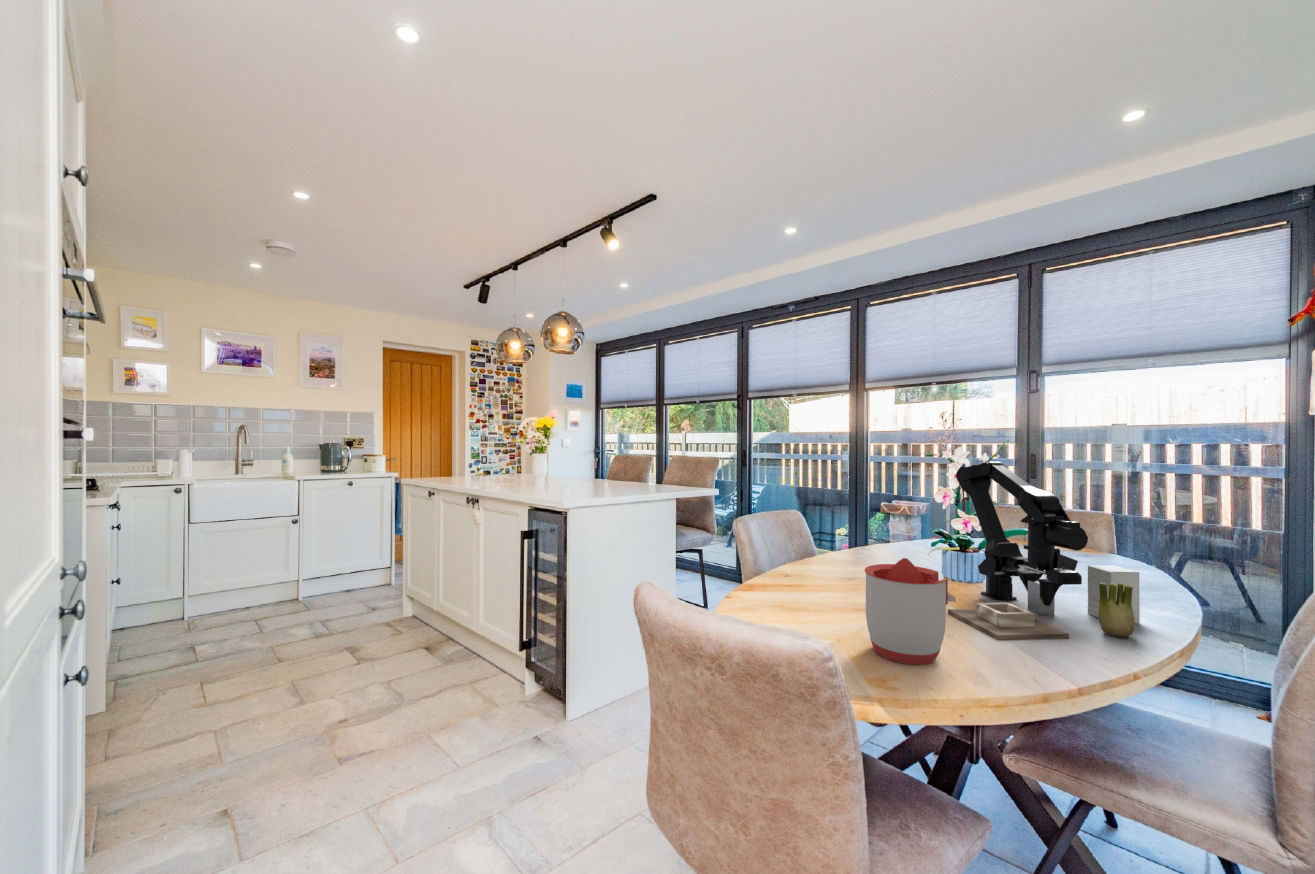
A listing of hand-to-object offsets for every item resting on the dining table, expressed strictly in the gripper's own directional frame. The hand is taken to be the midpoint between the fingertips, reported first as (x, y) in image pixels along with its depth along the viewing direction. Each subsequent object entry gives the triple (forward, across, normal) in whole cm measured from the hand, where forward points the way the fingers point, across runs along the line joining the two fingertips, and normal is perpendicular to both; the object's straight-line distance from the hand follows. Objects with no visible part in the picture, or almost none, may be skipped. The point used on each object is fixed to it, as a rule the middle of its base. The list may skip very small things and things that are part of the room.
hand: (1040, 602), depth 138 cm
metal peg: (+2, 0, 0) cm, 2 cm away
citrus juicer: (+3, -24, +49) cm, 55 cm away
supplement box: (+3, -5, -15) cm, 16 cm away
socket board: (+2, -8, +16) cm, 18 cm away
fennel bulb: (+3, -16, -5) cm, 17 cm away
